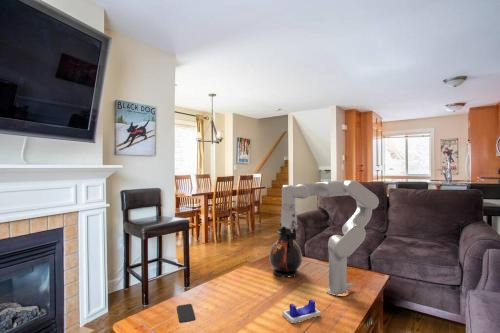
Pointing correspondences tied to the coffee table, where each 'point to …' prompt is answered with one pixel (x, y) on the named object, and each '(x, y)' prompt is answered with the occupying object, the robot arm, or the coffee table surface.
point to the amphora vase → (285, 255)
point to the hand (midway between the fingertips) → (288, 237)
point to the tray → (300, 318)
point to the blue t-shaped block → (305, 310)
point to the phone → (185, 313)
